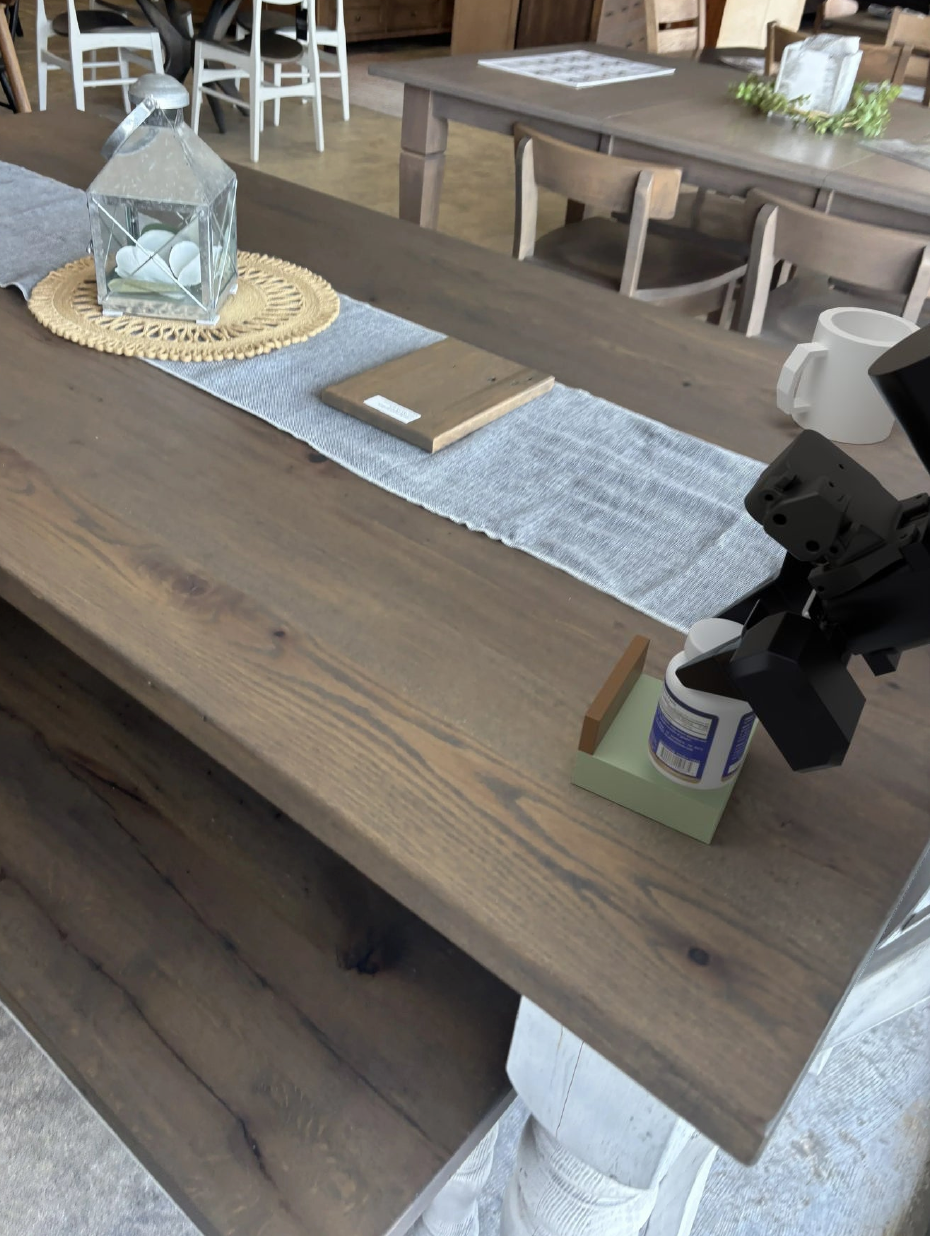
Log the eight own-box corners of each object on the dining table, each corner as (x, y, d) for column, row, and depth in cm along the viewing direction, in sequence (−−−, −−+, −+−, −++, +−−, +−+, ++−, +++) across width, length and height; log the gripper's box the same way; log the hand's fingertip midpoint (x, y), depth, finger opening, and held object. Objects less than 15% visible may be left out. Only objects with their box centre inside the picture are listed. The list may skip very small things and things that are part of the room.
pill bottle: (712, 725, 61) (749, 608, 56) (752, 788, 57) (796, 666, 52) (631, 732, 60) (662, 613, 55) (666, 796, 56) (702, 673, 51)
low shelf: (748, 751, 66) (772, 684, 63) (709, 845, 60) (732, 776, 56) (620, 699, 70) (636, 633, 66) (570, 782, 63) (584, 714, 60)
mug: (804, 453, 100) (835, 355, 94) (745, 408, 108) (770, 314, 102) (911, 437, 104) (948, 342, 98) (847, 394, 112) (877, 303, 106)
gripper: (927, 340, 50) (673, 465, 61) (844, 502, 37) (539, 625, 47) (1036, 522, 51) (769, 612, 62) (994, 742, 38) (664, 808, 49)
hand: (694, 654), depth 55 cm, fingers closed on pill bottle, 4 cm apart
